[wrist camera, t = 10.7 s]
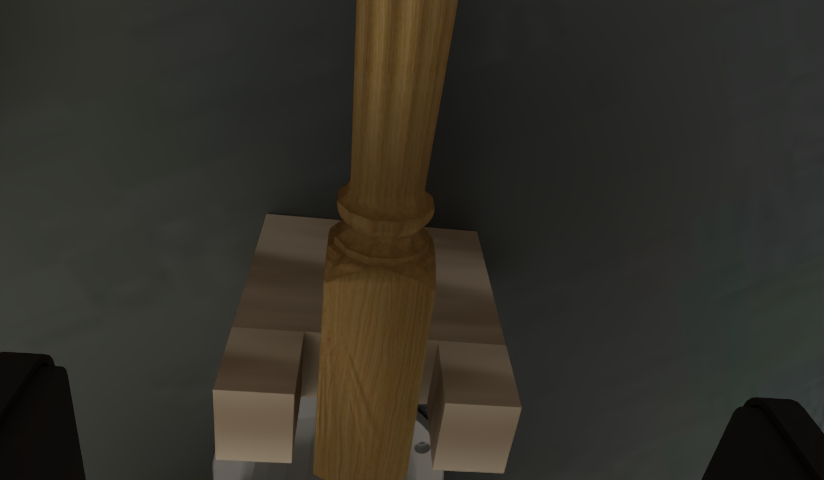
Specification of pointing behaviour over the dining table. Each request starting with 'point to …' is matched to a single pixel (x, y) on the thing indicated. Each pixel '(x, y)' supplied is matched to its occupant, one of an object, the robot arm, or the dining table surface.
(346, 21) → the dining table surface
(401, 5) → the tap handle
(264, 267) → the block
